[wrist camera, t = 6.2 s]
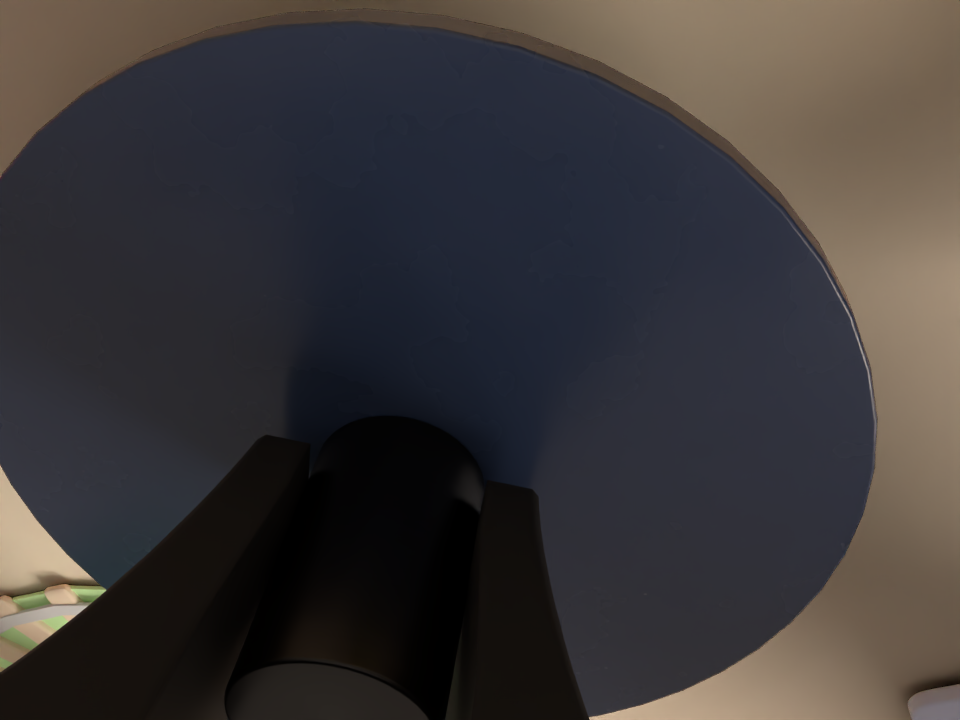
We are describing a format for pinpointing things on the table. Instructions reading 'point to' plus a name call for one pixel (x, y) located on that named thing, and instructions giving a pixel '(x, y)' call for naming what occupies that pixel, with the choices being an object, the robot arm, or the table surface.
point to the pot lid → (431, 350)
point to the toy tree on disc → (39, 617)
